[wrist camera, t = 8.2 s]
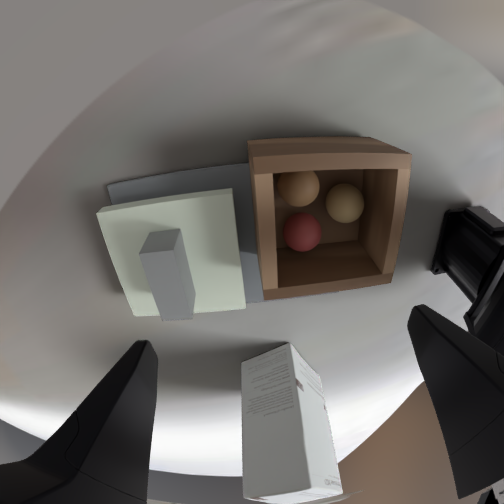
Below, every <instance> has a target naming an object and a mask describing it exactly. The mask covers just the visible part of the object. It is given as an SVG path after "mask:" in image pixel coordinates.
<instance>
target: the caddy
mask: <svg viewBox="0 0 504 504" xmlns="http://www.w3.org/2000/svg"><path fill="white" fill-rule="evenodd" d="M247 146H248V157H249V168H250V180H251V191H252V202H253V214H254V226H255V237H256V249H257V258H258V264H259V271H260V277H261V284H262V290H263V297H264V301H266V300H275V299H284V298H292V297H300V296H308V295H315V294H322V293H330V292H337V291H343V290H350V289H357V288H363V287H369V286H375V285H381V284H387V283H391V281H392V277H393V273H394V268H395V264H396V260H397V255H398V250H399V245H400V240H401V235H402V229H403V223H404V217H405V211H406V204H407V197H408V189H409V180H410V170H411V159H412V154H410V153H408V152H405V151H403V150H401V149H398V148H396V147H394V146H391V145H389V144H386V143H384V142H381V141H379V140H376V139H374V138H371V137H344V136H328V137H291V138H273V139H260V140H248V141H247Z"/></svg>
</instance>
